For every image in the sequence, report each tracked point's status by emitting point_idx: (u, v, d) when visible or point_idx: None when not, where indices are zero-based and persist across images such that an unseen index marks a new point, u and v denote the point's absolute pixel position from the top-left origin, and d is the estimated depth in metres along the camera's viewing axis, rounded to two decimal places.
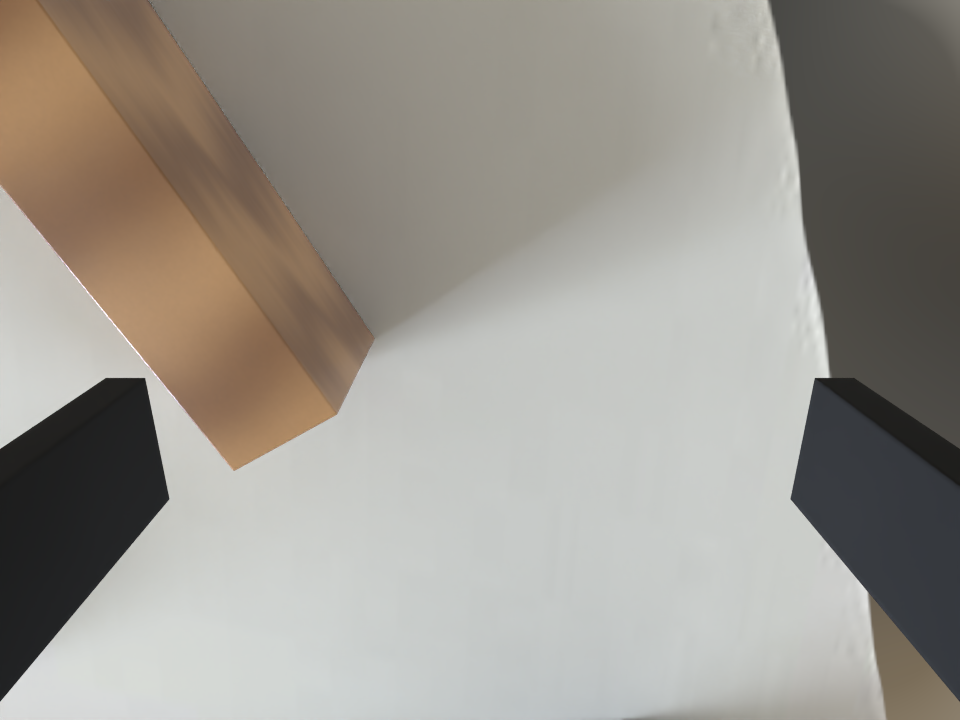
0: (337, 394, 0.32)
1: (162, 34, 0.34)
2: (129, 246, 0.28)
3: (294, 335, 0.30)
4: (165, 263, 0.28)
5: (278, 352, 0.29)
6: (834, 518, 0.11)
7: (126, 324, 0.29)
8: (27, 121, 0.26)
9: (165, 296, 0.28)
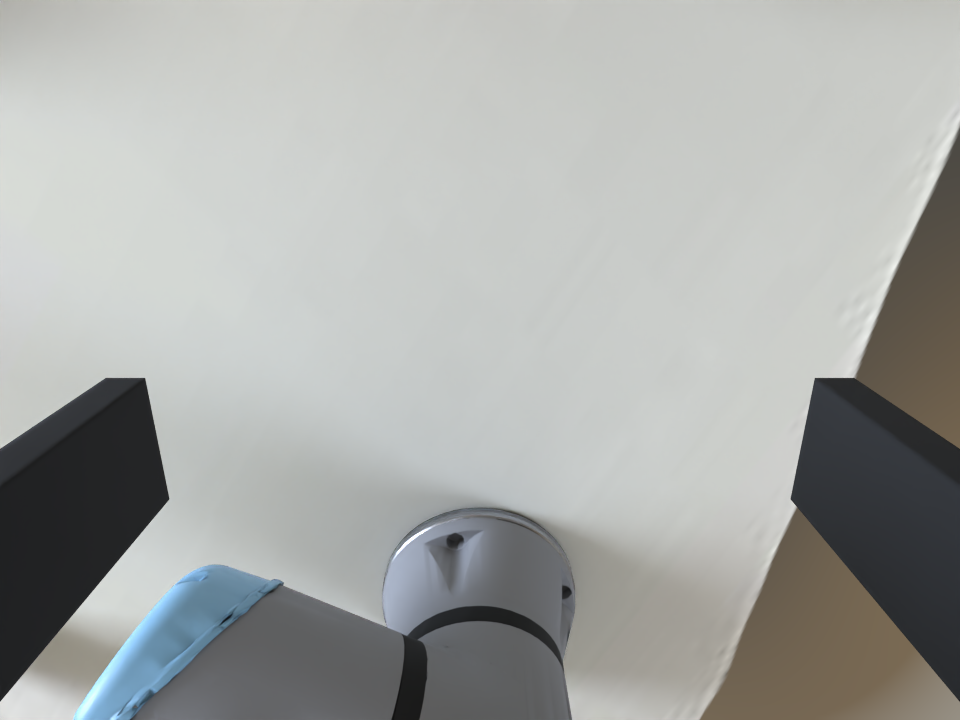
0: None
1: None
2: None
3: None
4: None
5: None
6: (834, 518, 0.11)
7: None
8: None
9: None
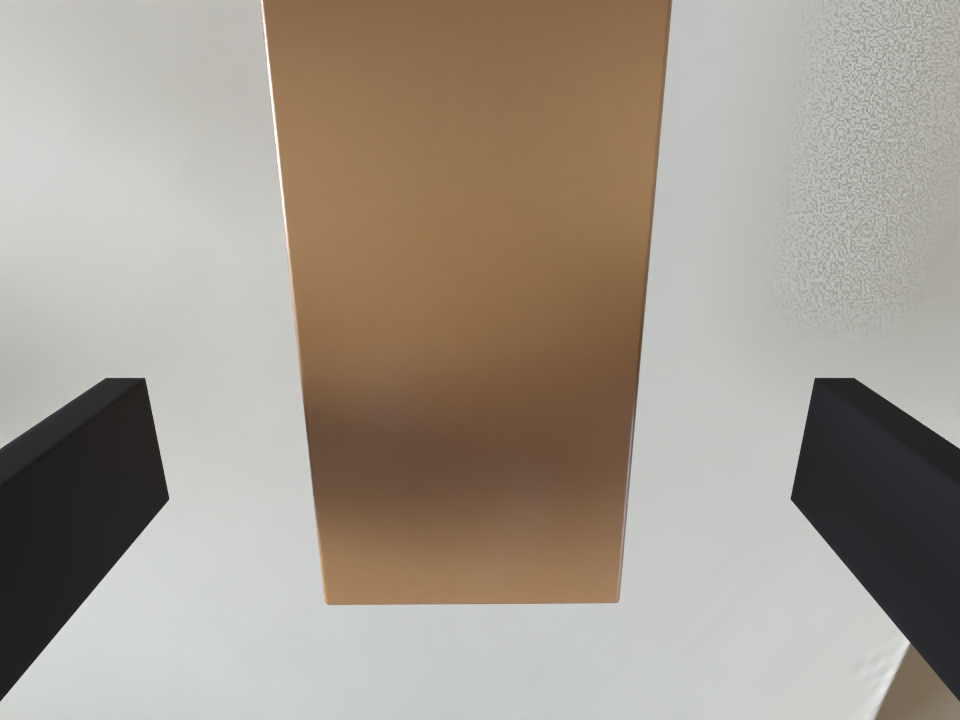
0: None
1: None
2: (459, 9, 0.10)
3: None
4: (515, 104, 0.10)
5: (605, 434, 0.12)
6: (834, 518, 0.11)
7: (311, 191, 0.11)
8: None
9: (456, 182, 0.11)
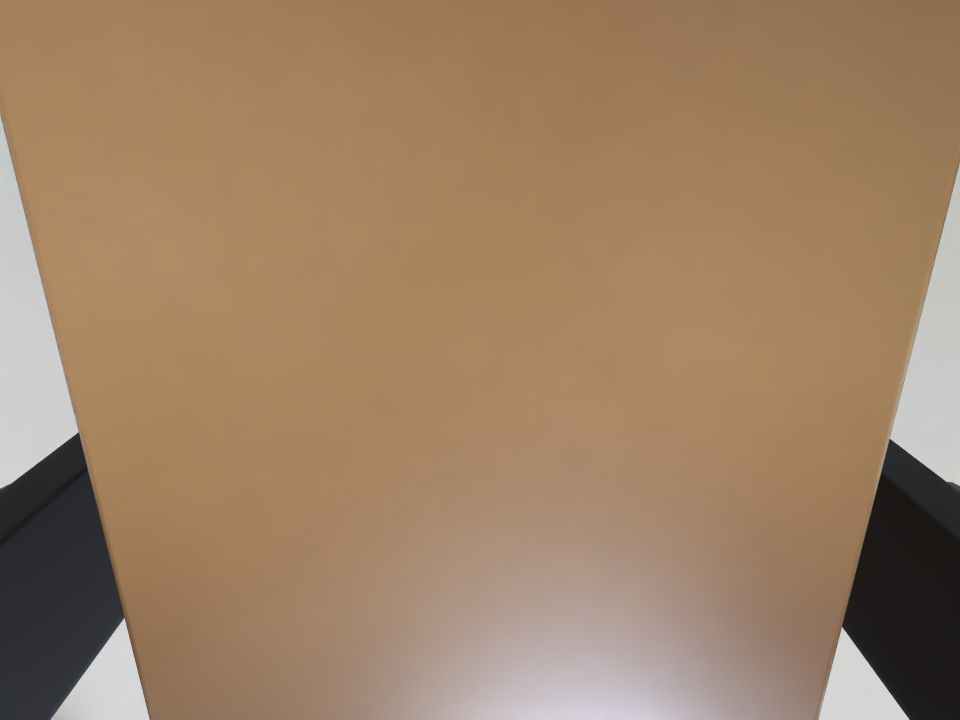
0: None
1: None
2: None
3: None
4: (607, 131, 0.04)
5: None
6: None
7: (121, 326, 0.05)
8: None
9: (457, 309, 0.04)
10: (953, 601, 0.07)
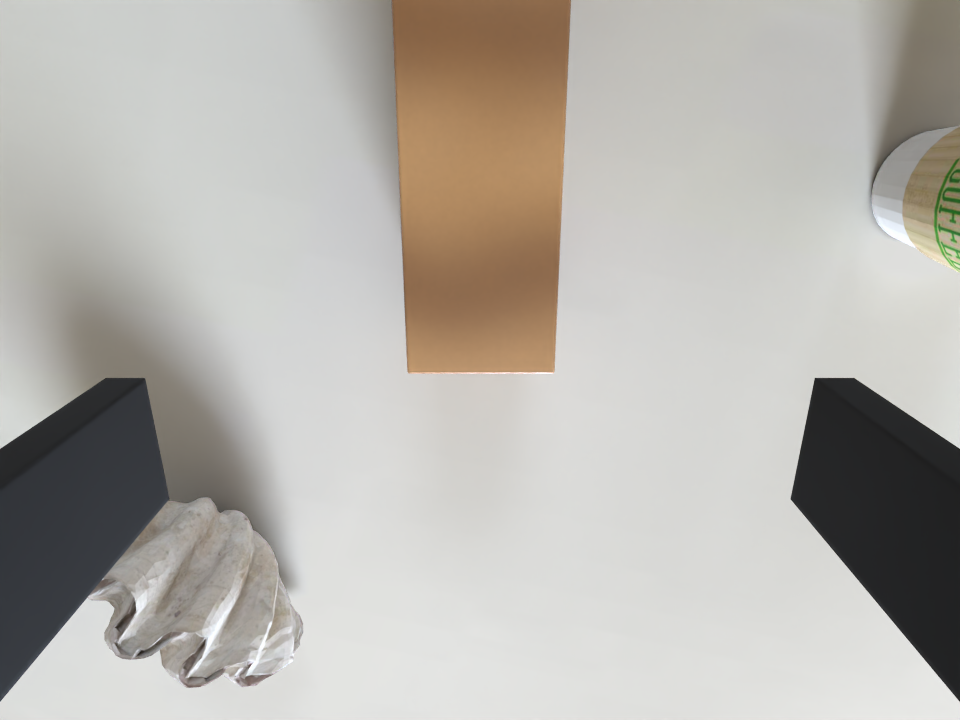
0: None
1: None
2: (478, 88, 0.23)
3: None
4: (501, 128, 0.24)
5: (544, 281, 0.26)
6: (834, 518, 0.11)
7: (412, 164, 0.24)
8: None
9: (475, 161, 0.24)
10: None
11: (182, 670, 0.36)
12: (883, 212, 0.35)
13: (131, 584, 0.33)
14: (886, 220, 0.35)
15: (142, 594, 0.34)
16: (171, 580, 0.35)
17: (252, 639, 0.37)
